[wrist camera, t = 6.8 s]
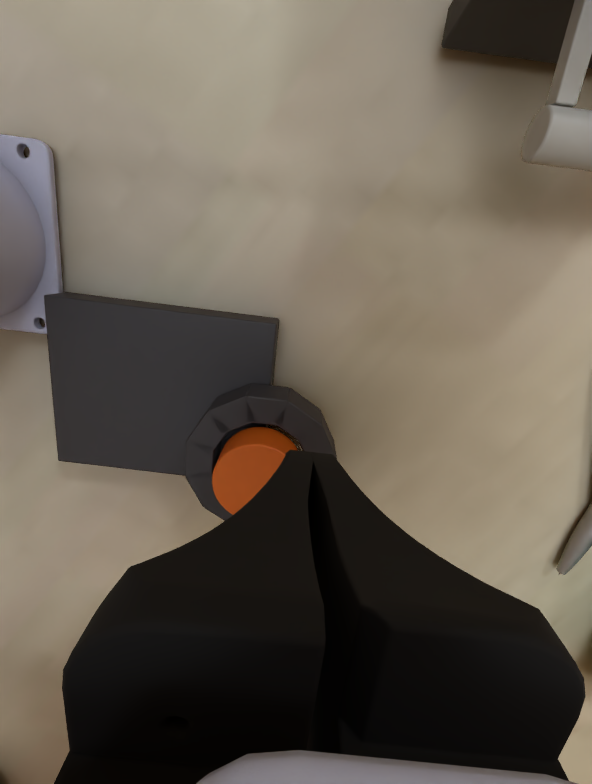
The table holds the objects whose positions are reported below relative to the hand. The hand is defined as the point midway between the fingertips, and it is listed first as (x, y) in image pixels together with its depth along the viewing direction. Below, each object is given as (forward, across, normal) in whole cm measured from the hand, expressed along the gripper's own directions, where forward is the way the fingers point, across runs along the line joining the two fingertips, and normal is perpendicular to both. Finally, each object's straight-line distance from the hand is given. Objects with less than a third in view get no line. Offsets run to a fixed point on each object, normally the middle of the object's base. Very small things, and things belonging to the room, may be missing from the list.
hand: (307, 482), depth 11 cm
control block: (+9, +5, +1) cm, 10 cm away
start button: (+5, +2, +3) cm, 6 cm away
